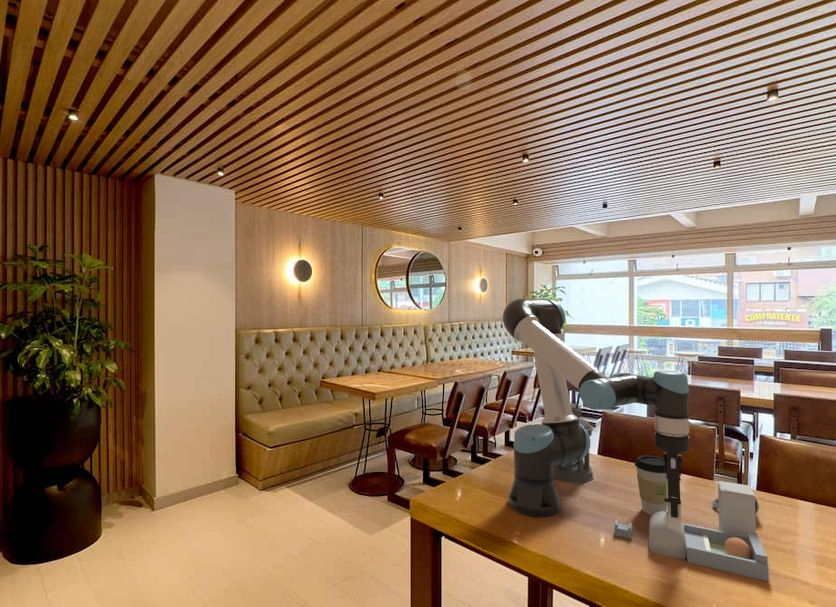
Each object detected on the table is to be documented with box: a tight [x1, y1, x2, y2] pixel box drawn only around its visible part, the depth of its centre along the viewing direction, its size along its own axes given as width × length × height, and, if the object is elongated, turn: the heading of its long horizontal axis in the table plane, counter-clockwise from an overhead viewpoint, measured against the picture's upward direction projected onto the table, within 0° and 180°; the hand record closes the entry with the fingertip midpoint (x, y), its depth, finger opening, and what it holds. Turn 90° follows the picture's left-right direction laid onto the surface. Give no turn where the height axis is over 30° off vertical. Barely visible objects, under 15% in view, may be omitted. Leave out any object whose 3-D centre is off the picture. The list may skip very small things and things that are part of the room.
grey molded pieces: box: [614, 511, 770, 582], centre depth 105 cm, size 31×13×8 cm, turn 60°
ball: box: [725, 537, 751, 559], centre depth 99 cm, size 5×5×5 cm
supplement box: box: [717, 480, 757, 536], centre depth 111 cm, size 7×7×13 cm
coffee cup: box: [634, 454, 668, 516], centre depth 124 cm, size 10×10×15 cm
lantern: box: [554, 378, 595, 484], centre depth 154 cm, size 17×17×35 cm
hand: (673, 517), depth 106 cm, fingers open, 13 cm apart
